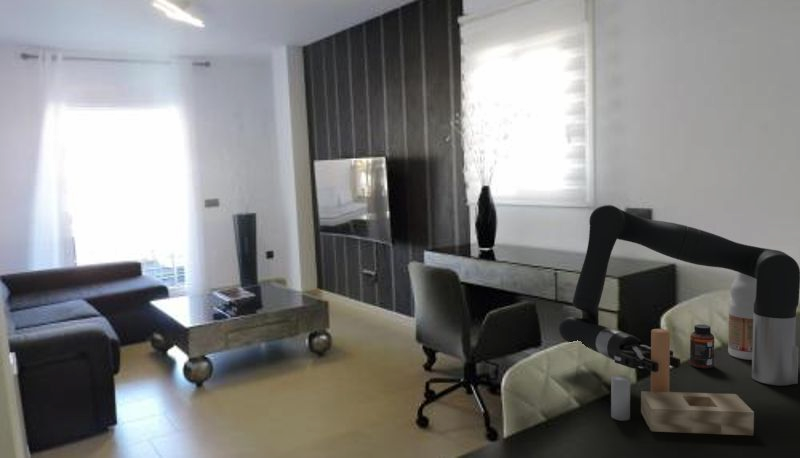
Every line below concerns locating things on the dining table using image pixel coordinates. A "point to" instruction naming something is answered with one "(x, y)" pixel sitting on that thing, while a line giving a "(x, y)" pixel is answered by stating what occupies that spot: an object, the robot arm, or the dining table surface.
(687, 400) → the wooden block with hole
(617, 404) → the short dowel
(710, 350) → the supplement bottle
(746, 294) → the white plastic bottle
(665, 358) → the long dowel
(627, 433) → the dining table surface
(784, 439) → the dining table surface
